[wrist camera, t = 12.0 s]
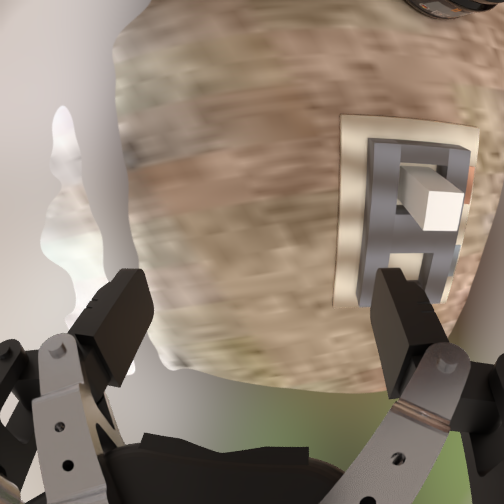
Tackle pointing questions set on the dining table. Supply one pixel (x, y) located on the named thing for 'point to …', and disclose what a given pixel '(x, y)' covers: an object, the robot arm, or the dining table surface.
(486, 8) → the supplement container
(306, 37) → the dining table surface
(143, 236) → the dining table surface
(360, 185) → the socket board
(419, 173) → the white rectangular block
